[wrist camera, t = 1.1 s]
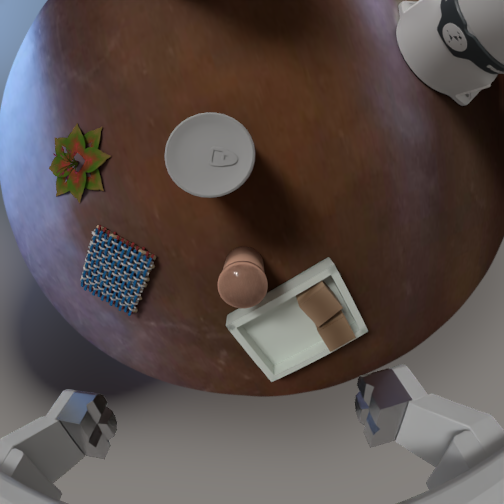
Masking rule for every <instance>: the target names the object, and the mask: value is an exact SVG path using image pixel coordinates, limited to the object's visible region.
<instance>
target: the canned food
mask: <svg viewBox="0 0 504 504" xmlns="http://www.w3.org/2000/svg"><path fill="white" fill-rule="evenodd" d="M255 155H256V153H255V146H254V143H253V140H252V137H251V135H250V134H249V132H248V131H247V129H246V128H245V127H244V126H243V125H242V124H241V123H239V122H238V121H237V120H235V119H234V118H232V117H229V116H227V115H224V114H220V113H201V114H197V115H194V116H191V117H189V118H188V119H186V120H184V121H183V122H181V123H180V124H179V125H178V126H177V127H176V128H175V129H174V131H173V132H172V133H171V135H170V137H169V139H168V141H167V144H166V148H165V163H166V168H167V170H168V173H169V175H170V176H171V178H172V180H173V181H174V182H175V183H176V184H177V185H178V186H179V187H180V188H181V189H183V190H184V191H186V192H188V193H190V194H192V195H195V196H200V197H210V198H212V197H220V196H223V195H226V194H229V193H231V192H233V191H235V190H236V189H238V188H239V187H240V186H241V185H242V184H244V182H245V181H246V180H247V179H248V178H249V176H250V174H251V172H252V170H253V167H254V164H255Z"/></svg>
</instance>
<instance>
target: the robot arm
mask: <svg viewBox="0 0 504 504" xmlns="http://www.w3.org/2000/svg"><path fill="white" fill-rule="evenodd" d="M398 8H399V14H400V20H399V22H398V25H397V30H396V35H397V42H398V45H399V48H400V51H401V53H402V55H403V57H404V59H405V61H406V62H407V64H408V65H409V67H410V68H411V69H412V71H413V72H414V73H415V74H416V75H417V76H418V77H419V78H420V79H421V80H422V81H423V82H424V83H425V84H427V85H428V86H429V87H431V88H433V89H434V90H436V91H438V92H441V93H444V94H446V95H448V96H450V97H451V98H452V99H453V100H455V101H456V102H457V103H458V104H459V105H461V106H465V105H467V104H469V103H470V102H471V100H472V99H473V98H474V97H475V96H476V95H477V94H478V93H479V92H480V91H481V90H482V89H485V88H488V87H490V86H491V83H492V82H493V81H494V79H495V78H496V76H497V75H498V74H500V73H501V74H502V73H504V0H419V1H418V2H412V1H403V2H401V3H400V4H399V6H398ZM465 94H466V95H465ZM357 386H358V388H359V393H358V394H357V395H356V399H355V408H356V414H357V417H358V420H359V422H360V423H362V424H363V425H365V429H364V434H365V437H366V439H367V442H368V444H369V446H370V447H374V446H377V445H381V444H384V443H388V442H391V441H394V440H396V441H395V442H397V443H398V444H400V445H401V446H403V447H405V448H406V449H407V450H409V451H411V452H412V453H414V454H415V455H417V456H418V457H420V458H422V459H423V460H425V461H426V462H428V463H430V464H431V465H433V466H435V467H436V468H435V470H434V471H433V473H432V474H431V475H430V477H429V479H428V480H427V482H426V484H427V486H428V488H429V490H428V491H426V492H424V493H422V494H419V495H417V496H415V497H412V498H410V499H407V500H405V501H402V502H400V503H397V504H504V430H503V429H502V427H501V426H500V425H499V424H498V422H497V421H496V420H495V419H494V417H493V416H492V415H491V414H487V413H485V412H482V411H479V410H476V409H473V408H470V407H467V406H465V405H462V404H459V403H456V402H454V401H451V400H449V399H446V398H443V397H440V396H438V395H435V394H433V393H431V394H428V393H427V392H426V391H425V389H424V388H423V387H422V385H421V384H420V383H419V381H418V380H417V379H416V378H415V376H414V375H413V373H412V372H411V371H410V370H409V368H408V367H407V366H406V365H405V364H401V365H398V366H395V367H391V368H389V369H385V370H381V371H377V372H373V373H369V374H365V375H361V376H359V378H358V383H357ZM106 405H107V401H106V399H105V397H104V395H101V394H98V393H91V392H83V391H75V390H70V389H67V390H64V391H63V392H62V394H61V395H60V396H59V398H58V399H57V401H56V402H55V404H54V405H53V406H52V408H51V409H50V411H49V412H48V414H47V415H46V416H45V417H43V416H42V417H40V418H38V419H36V420H35V421H33V422H31V423H29V424H27V425H25V426H23V427H21V428H20V429H18V430H16V431H14V432H12V433H10V434H8V435H6V436H4V437H2V438H0V504H67V503H65V502H62V501H60V498H61V495H62V493H61V491H60V490H59V489H58V488H57V487H56V486H55V485H54V484H53V483H54V482H55V481H57V480H58V479H59V478H60V477H61V476H62V475H64V474H65V473H66V472H67V471H69V470H70V469H71V468H72V467H73V466H74V465H76V464H77V463H78V462H79V461H80V460H81V459H83V458H84V457H85V455H86V456H91V457H96V458H101V459H105V457H106V455H107V452H108V450H109V448H110V443H109V439H111V438H112V437H114V435H115V433H116V430H117V421H116V417H115V415H114V413H113V412H112V411H111V410H110V409H109V408H108V407H106Z"/></svg>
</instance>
